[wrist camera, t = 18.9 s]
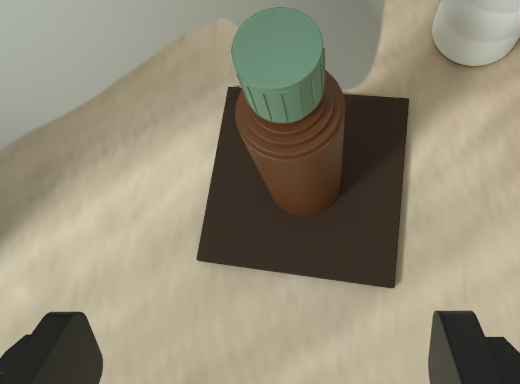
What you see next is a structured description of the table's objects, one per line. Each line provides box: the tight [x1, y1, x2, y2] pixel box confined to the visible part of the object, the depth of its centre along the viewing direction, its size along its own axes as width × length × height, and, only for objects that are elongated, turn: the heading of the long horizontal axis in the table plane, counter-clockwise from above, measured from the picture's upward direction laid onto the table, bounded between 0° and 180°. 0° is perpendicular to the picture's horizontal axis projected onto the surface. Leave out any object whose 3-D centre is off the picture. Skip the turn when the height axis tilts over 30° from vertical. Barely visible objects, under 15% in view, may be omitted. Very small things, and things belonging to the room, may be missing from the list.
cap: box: [231, 7, 325, 123], centre depth 20 cm, size 4×4×4 cm
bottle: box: [235, 70, 345, 217], centre depth 28 cm, size 6×6×20 cm
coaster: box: [197, 87, 409, 288], centre depth 38 cm, size 16×16×1 cm
